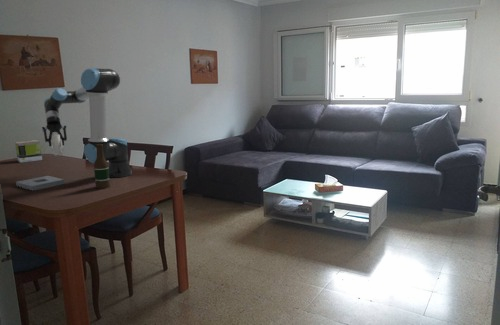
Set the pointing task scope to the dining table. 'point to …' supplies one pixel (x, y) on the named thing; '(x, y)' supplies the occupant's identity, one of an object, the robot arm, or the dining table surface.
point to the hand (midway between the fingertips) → (57, 149)
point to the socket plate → (40, 182)
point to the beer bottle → (101, 169)
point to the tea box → (28, 151)
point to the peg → (56, 144)
